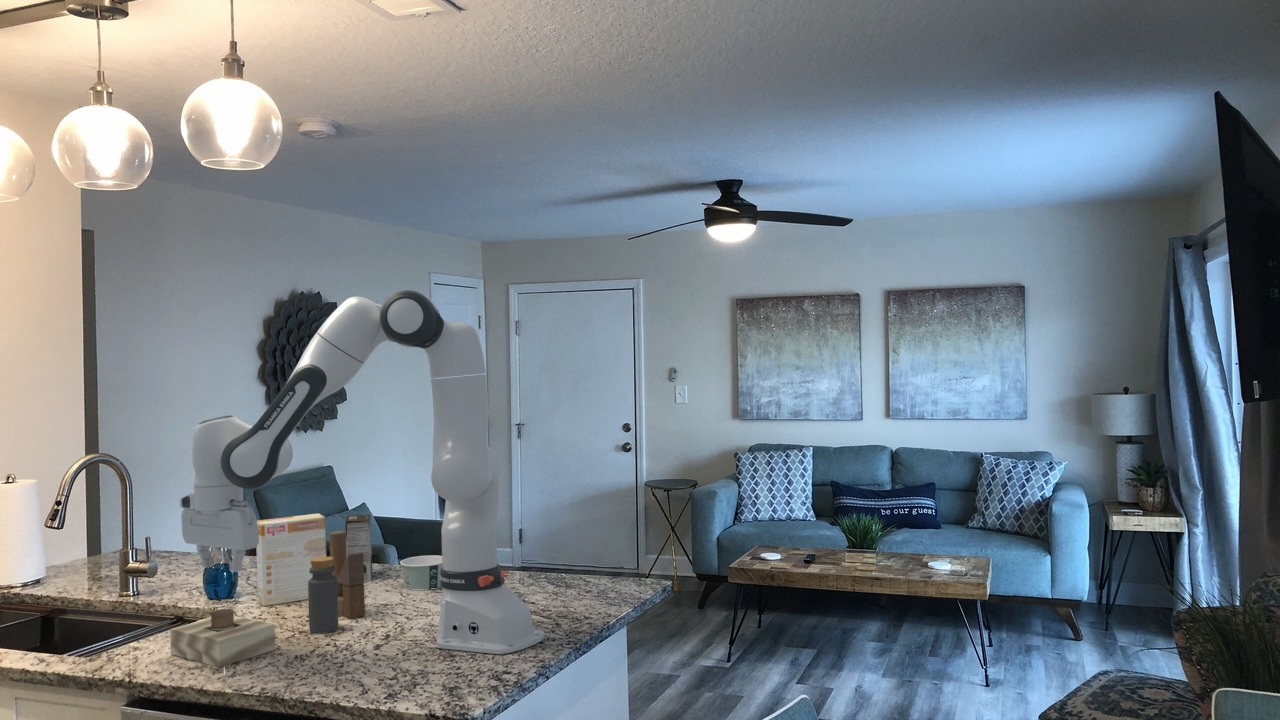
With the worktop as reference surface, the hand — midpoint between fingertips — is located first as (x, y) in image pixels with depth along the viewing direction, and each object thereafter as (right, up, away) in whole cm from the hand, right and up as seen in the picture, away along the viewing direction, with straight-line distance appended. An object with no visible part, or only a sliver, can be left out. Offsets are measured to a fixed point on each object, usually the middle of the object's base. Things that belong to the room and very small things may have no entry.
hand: (221, 569), depth 184 cm
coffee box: (+9, -16, +61) cm, 64 cm away
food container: (+28, -16, +51) cm, 60 cm away
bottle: (+15, -16, +14) cm, 26 cm away
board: (0, -16, 0) cm, 16 cm away
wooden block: (+16, -16, +27) cm, 35 cm away
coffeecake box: (-1, -17, +42) cm, 45 cm away
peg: (0, -16, 0) cm, 16 cm away
